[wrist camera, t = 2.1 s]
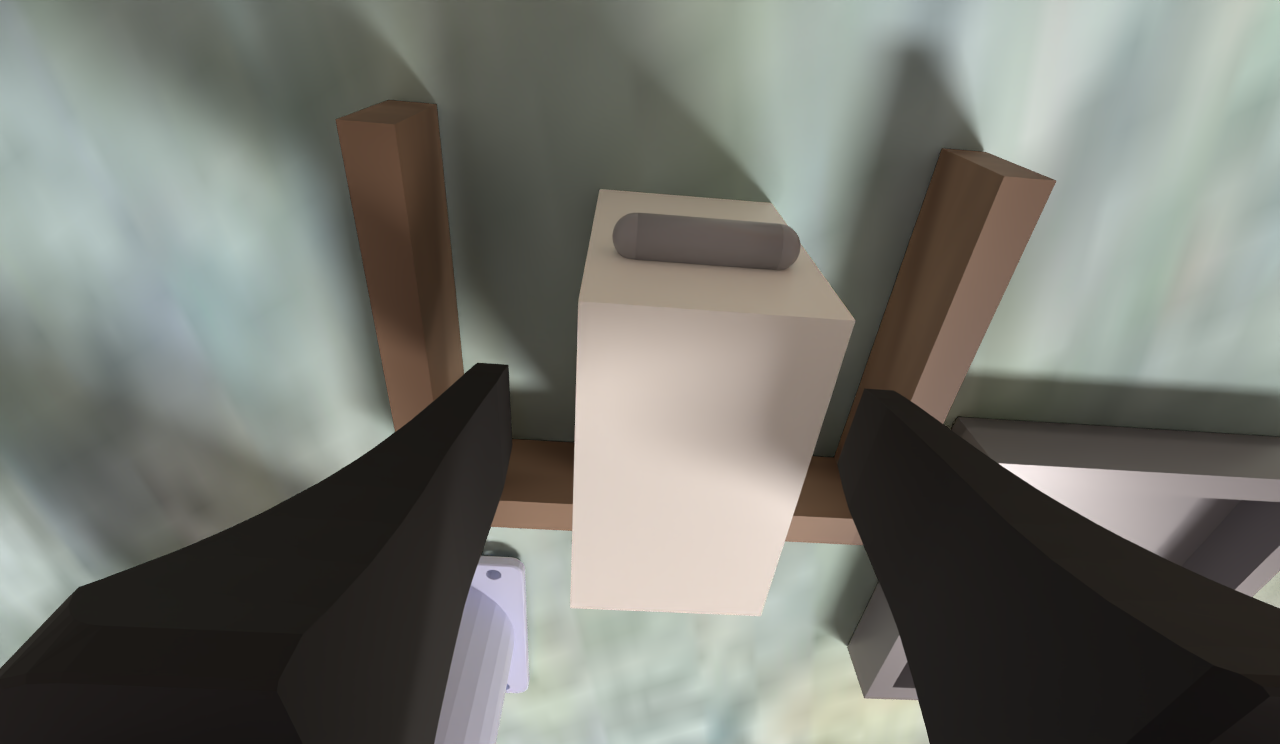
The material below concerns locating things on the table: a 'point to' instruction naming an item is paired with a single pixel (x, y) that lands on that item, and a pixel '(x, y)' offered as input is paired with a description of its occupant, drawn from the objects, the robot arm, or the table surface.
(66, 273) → the table surface
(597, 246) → the beige rectangular block
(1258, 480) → the tray
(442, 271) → the bay
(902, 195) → the table surface
